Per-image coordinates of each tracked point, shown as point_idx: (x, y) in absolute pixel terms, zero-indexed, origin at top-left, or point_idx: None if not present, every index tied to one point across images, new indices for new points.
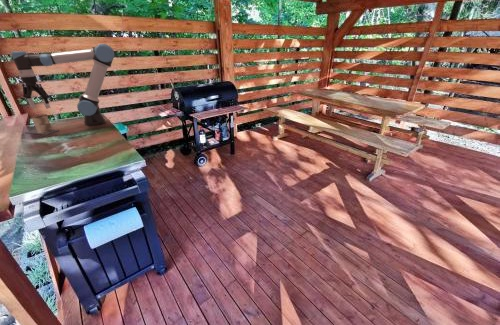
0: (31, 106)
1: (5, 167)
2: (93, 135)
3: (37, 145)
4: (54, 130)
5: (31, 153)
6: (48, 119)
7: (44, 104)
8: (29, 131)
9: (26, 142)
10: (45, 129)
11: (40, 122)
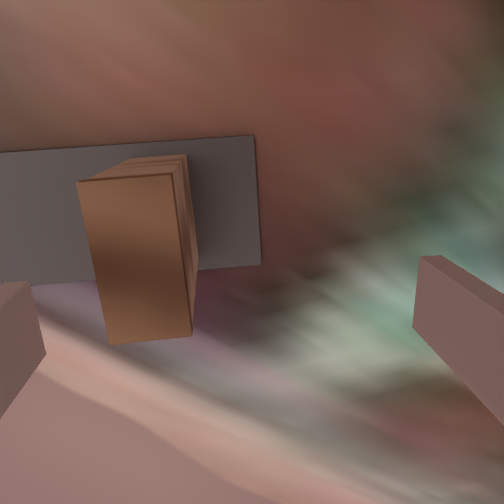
0: (30, 370)
1: None
2: None
3: (407, 417)
4: (220, 160)
5: (487, 491)
6: (177, 167)
7: (461, 376)
8: (7, 253)
9: (276, 407)
10: (192, 225)
11: (191, 273)
